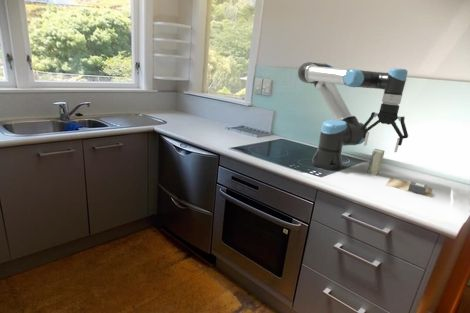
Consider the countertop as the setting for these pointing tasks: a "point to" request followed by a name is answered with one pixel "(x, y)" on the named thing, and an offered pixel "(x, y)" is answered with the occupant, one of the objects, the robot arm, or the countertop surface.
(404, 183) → the board
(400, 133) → the robot arm
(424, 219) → the countertop surface
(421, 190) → the gray block
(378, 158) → the box
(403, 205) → the countertop surface
